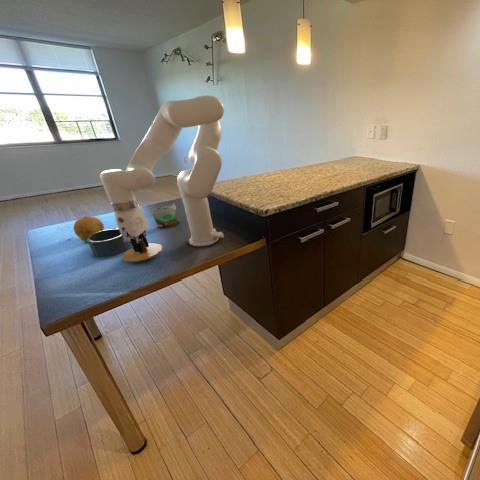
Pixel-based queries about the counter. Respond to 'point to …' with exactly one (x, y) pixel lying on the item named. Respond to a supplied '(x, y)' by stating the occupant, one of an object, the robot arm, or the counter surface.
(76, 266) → the counter surface
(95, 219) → the potato
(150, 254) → the lid
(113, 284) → the counter surface
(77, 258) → the counter surface
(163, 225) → the food container
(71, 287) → the counter surface
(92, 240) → the tin
